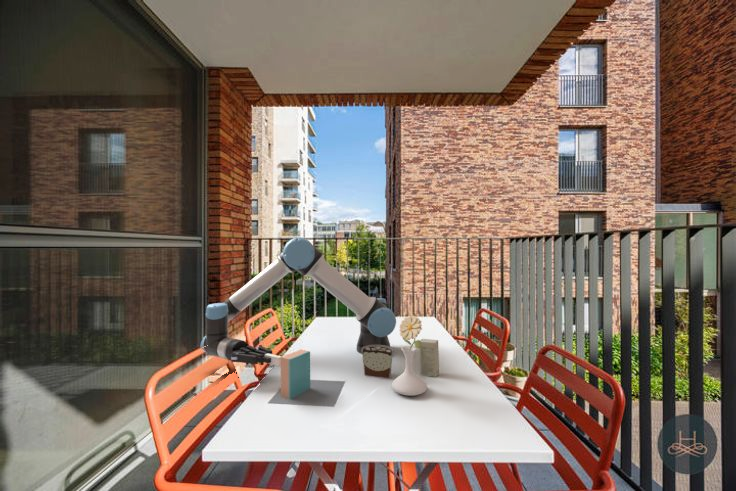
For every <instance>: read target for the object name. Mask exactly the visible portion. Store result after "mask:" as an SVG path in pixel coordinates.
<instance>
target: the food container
mask: <svg viewBox="0 0 736 491" xmlns="http://www.w3.org/2000/svg"><path fill="white" fill-rule="evenodd" d="M360 354H362V361H363V362H362V363H363V371H364V376H365V377H370V378H380V379H388V380H391V375H392V374H391V372H392V365H393V363H392V362H393V358H394V357H395V353H394V349H393V348H392V347H391V346H390V347H389V346H385V345H368V346H364V347H363V348H362V349H361V353H360Z"/></svg>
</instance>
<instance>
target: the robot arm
mask: <svg viewBox="0 0 736 491" xmlns="http://www.w3.org/2000/svg"><path fill="white" fill-rule="evenodd" d="M324 256H325V255H324V253H323V252H321V251H320V249H318V248H317V247H315V245H313V244H312V242H310V240H308V239H307V238H304V237H294V238H291V239H289V241H287V242H286V243H285V245H284V246H283V249H282V251H281V252H280V253H279V254H278V255H277V258H276V260H274V261H272V263H271V264H268V266H267V267H266V268H264V269H263V270H262V271H260V272H259V273H258V274H257V275H256V276H254V277H253V278H252V279H251V280H249V281H247V283H246V284H244V285H243V286H242V287H241V288H240V289H238V290H237V291H236V292H234V294H232V295H231V296H230V297H228V298H227V299H226V300H224V301H223V302H217V303H216V302H214V303H211V304H210V303H209V304H208V305H207V306H206V310H205V321H206V322H205V323H206V324H205V325H206V326H205V329H206V330H205V331H206V333H205V336H203V337H202V340H201V342H200V349H201V348H202V347H204V346H206V347H204V348H202V349H203V350H204V351H205V352H206V353H205V354H206V355H209V356H212V357H218V358H221V359H224V360H227V361H228V362H229V361H230V362H231V363H241V364H242V363H243V364H252V365H258V364H259V363H260V366H263V365H264V364H269V365H272V366H276V367H279V366H280V367H281V357H282V356H280V355H277V354H273V350H271V349H270V348H267V347H264V346H263V345H262V344H259V345H258V346H257V347H255V346H252V345H250V344H248V342H247V341H246V340H242V339H239V338H238V339H237V338H234V337H229V322H231V320H233V319H234V318H235V317H236V316H237V315H239V314H240V313H241V312H242V311H244V309H246V308H247V307H248V306H250V305H251V304H252V303H253V302H254V301H256V300H257V299H258V298H259V297H261V296H263V294H264V293H265V292H267V291H268V290H269V289H271V288H272V287H273V286H274V285H275V284H276V283H278V282H279V281H280V280H282V279H284V277H285V276H287V274H290V273H294V272H298V273H299V274H300V275H302V276H303V277H305V278H306V277H310V278H311V279H313V280H314V281H315V282H316V283H318V284H319V285H320V286H321V287H322V288H324V289H325V290H326V291H327V292H328V293H329V294H331V295H332V296H333V297H335V298H336V299H337V300H338V301H340V302H341V303H342V304H343V305H344V306H346V307H347V308H348V309H349V310H351V312H353V313H354V314H355V319H356V321H358V322H359V323H360V327H359V328H360V334H359V335H358V339H357V343H356V351H357V352H358V354H359V353H360V354H362V353H361V349H362V348H363V347H364V346H368V345H385V346H389V347H391V343H390V339H389V337H388V336H389V335H391V334H392V333H393V331H394V330H395V329H396V325H397V318H396V315H395V313H394V312H393V311H392V310H391V309H390V308H389V307H387V300H386V298H380V297H379V298H378V297H377V298H376V297H375V296H369V295H367V294H366V293H365V292H363V291H362V290H361V289H360V288H358V286H357V285H355V284H354V283H353V282H351V281H350V280H349V279H348V278H347V277H345V275H343V274H342V273H341V272H339V271H338V270H337V269H336V268H335V267H334V266H332V265H331V264H330V263H329V262H328V261H327V260H325V257H324ZM207 345H208V346H207ZM202 349H201V350H202ZM207 351H208V352H207Z"/></svg>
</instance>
